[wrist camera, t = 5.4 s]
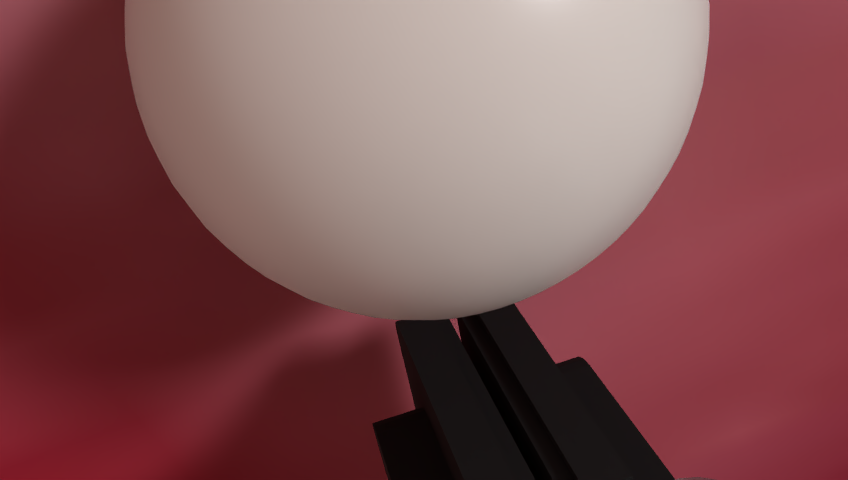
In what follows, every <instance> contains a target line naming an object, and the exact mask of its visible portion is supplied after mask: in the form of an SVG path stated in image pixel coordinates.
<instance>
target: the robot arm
mask: <svg viewBox="0 0 848 480" xmlns="http://www.w3.org/2000/svg"><path fill="white" fill-rule="evenodd" d="M457 320H458V326H459V331H460V336H461V340H460V338H459V336H458V335H457V333H456V331H455V329H454V327H453V325H452V323H451V322H450V320H449V319H442V320H400V321H397V322H396V323H395V324H396V330H397V334H398V338H399V342H400V346H401V351H402V355H403V359H404V363H405V367H406V371H407V375H408V380H409V384H410V388H411V392H412V396H413V400H414V404H415V410H412V411H409V412H406V413H403V414H400V415H397V416H394V417H391V418H388V419H384V420H381V421H378V422H375V423H373V428H374V431H375V435H376V439H377V442H378V446H379V449H380V453H381V456H382V460H383V463H384V467H385V470H386V474H387V477H388V480H675V479H674V477H673V476H672V475H671V473H670V472H669V471H668V469H667V468H666V467H665V465H664V464H663V463H662V461H661V460H660V459H659V457H658V456H657V455H656V453H655V452H654V451H653V449H652V448H651V447H650V445H649V444H648V443H647V441H646V440H645V439H644V437H643V436H642V435H641V433H640V432H639V431H638V429H637V428H636V427H635V425H634V424H633V423H632V421H631V420H630V419H629V417H628V416H627V415H626V413H625V412H624V411H623V409H622V408H621V407H620V405H619V404H618V403H617V401H616V400H615V399H614V397H613V396H612V395H611V393H610V392H609V391H608V389H607V388H606V387H605V385H604V384H603V383H602V381H601V380H600V378H599V377H598V376H597V374H596V373H595V372H594V370H593V369H592V368H591V366H590V365H589V364H588V363H587V362H586V361H585V360H584V359H583V358H581V357H576V358H573V359H570V360H567V361H564V362H561V363H557V364H555V362H554V361H553V360H552V358H551V357H550V355H549V354H548V352H547V351H546V349H545V348H544V347H543V345H542V344H541V342H540V341H539V339H538V338H537V336H536V335H535V333H534V332H533V331H532V329H531V328H530V326H529V325H528V323H527V322H526V320H525V319H524V317H523V316H522V315H521V313H520V312H519V310H518V309H517V307H516V306H515V304H511V305H508V306H505V307H502V308H499V309H496V310H492V311H488V312H484V313H481V314H477V315H471V316H466V317H460V318H457ZM461 341H462V342H461ZM676 480H715V479H708V478H701V477H692V478H679V479H676Z"/></svg>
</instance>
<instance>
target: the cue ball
mask: <svg viewBox="0 0 848 480" xmlns="http://www.w3.org/2000/svg"><path fill="white" fill-rule="evenodd" d="M708 40H709V0H125V49H126V55H127V61H128V67H129V72H130V78H131V83H132V88H133V92H134V96H135V101H136V105H137V108H138V111H139V113H140V116H141V119H142V122H143V125H144V128H145V131H146V134H147V136H148V138H149V140H150V142H151V145H152V147H153V149H154V151H155V153H156V155H157V157H158V159H159V161H160V162H161V164H162V166H163V168H164V170H165V172H166V174H167V175H168V177H169V179H170V181H171V183H172V185H173V186H174V187H175V189H176V190H177V191H178V193H179V194H180V195H181V197H182V198H183V199H184V200H185V202H186V203H187V204H188V206H189V207H190V208H191V210H192V211H193V212H194V213H195V215H196V216H197V217H198V218H199V220H200V221H201V222H202V223H203V225H204V226H205V227H206V228H207V229H208V230H209V231H210V232H211V233H212V234H213V235H214V236H215V237H216V238H217V239H218V240H219V241H220V242H221V243H222V244H224V245H225V246H226V247H227V248H228V249H229V250H230V251H232V252H233V253H234V254H235V255H236V256H238V257H239V258H240V259H241V260H242V261H244V262H245V263H246V264H248V265H249V266H251V267H252V268H253V269H255V270H256V271H258V272H259V273H261V274H262V275H264V276H265V277H267V278H268V279H270V280H272V281H274V282H276V283H278V284H280V285H282V286H284V287H285V288H287V289H289V290H291V291H293V292H295V293H297V294H299V295H301V296H303V297H305V298H307V299H309V300H312V301H315V302H318V303H321V304H324V305H327V306H330V307H333V308H336V309H340V310H344V311H348V312H351V313H356V314H360V315H365V316H369V317H374V318H384V319H393V320H442V319H453V318H460V317H466V316H471V315H477V314H481V313H484V312H488V311H492V310H496V309H499V308H502V307H505V306H508V305H511V304H514V303H516V302H519V301H522V300H524V299H526V298H528V297H531V296H533V295H535V294H538V293H540V292H542V291H544V290H546V289H548V288H549V287H551V286H553V285H555V284H557V283H559V282H561V281H562V280H564V279H565V278H567V277H569V276H570V275H572V274H573V273H575V272H577V271H578V270H580V269H581V268H582V267H584V266H585V265H587V264H588V263H589V262H591V261H592V260H593V259H595V258H596V257H597V256H599V255H600V254H601V253H602V252H603V251H604V250H606V249H607V248H608V247H609V246H610V245H611V244H613V243H614V242H615V241H616V240H617V239H618V238H619V237H620V236H621V235H622V234H623V233H624V232H625V231H626V230H627V229H628V228H629V227H630V226H631V224H632V223H633V222H634V221H635V220H636V218H637V217H638V216H639V215H640V214H641V212H642V211H643V210H644V209H645V207H646V206H647V205H648V203H649V202H650V200H651V199H652V197H653V196H654V194H655V193H656V192H657V190H658V188H659V187H660V185H661V184H662V182H663V181H664V179H665V178H666V176H667V175H668V173H669V171H670V169H671V167H672V166H673V164H674V162H675V160H676V158H677V157H678V155H679V152H680V150H681V148H682V145H683V143H684V141H685V138H686V136H687V134H688V131H689V128H690V125H691V122H692V119H693V116H694V113H695V110H696V107H697V103H698V100H699V96H700V93H701V89H702V86H703V79H704V73H705V66H706V60H707V50H708Z"/></svg>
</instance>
